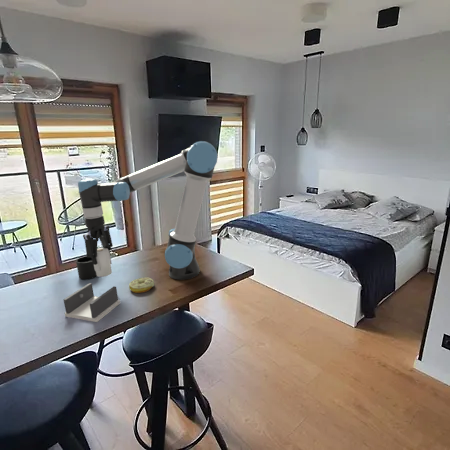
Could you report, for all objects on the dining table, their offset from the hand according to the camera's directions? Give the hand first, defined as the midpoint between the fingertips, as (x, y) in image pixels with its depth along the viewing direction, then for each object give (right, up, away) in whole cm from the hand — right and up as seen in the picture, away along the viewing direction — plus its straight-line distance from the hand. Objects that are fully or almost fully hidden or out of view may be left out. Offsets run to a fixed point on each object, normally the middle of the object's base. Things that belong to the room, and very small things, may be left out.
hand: (103, 267), depth 138 cm
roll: (0, -3, +1) cm, 3 cm away
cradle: (+1, -15, -12) cm, 20 cm away
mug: (-13, -7, +20) cm, 25 cm away
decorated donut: (+16, -10, +4) cm, 20 cm away
